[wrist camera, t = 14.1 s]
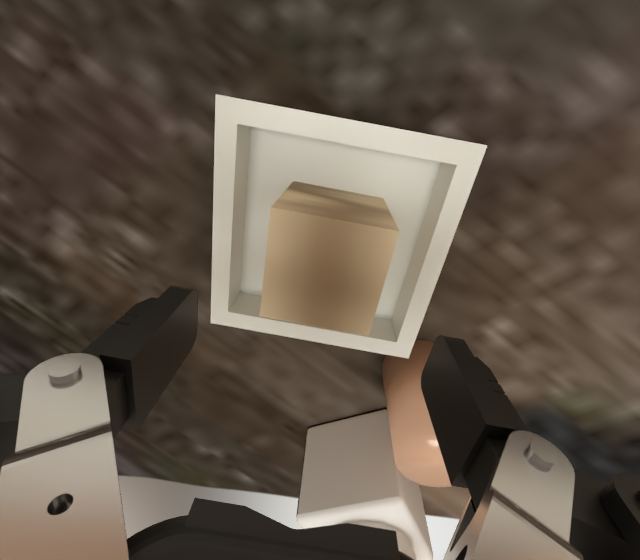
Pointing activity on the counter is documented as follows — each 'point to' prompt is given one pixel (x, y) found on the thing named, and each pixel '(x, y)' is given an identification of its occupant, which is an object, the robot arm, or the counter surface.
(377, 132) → the white tray
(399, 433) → the peach rounded capsule
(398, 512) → the medicine bottle
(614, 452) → the counter surface
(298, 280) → the maple block
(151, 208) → the counter surface
